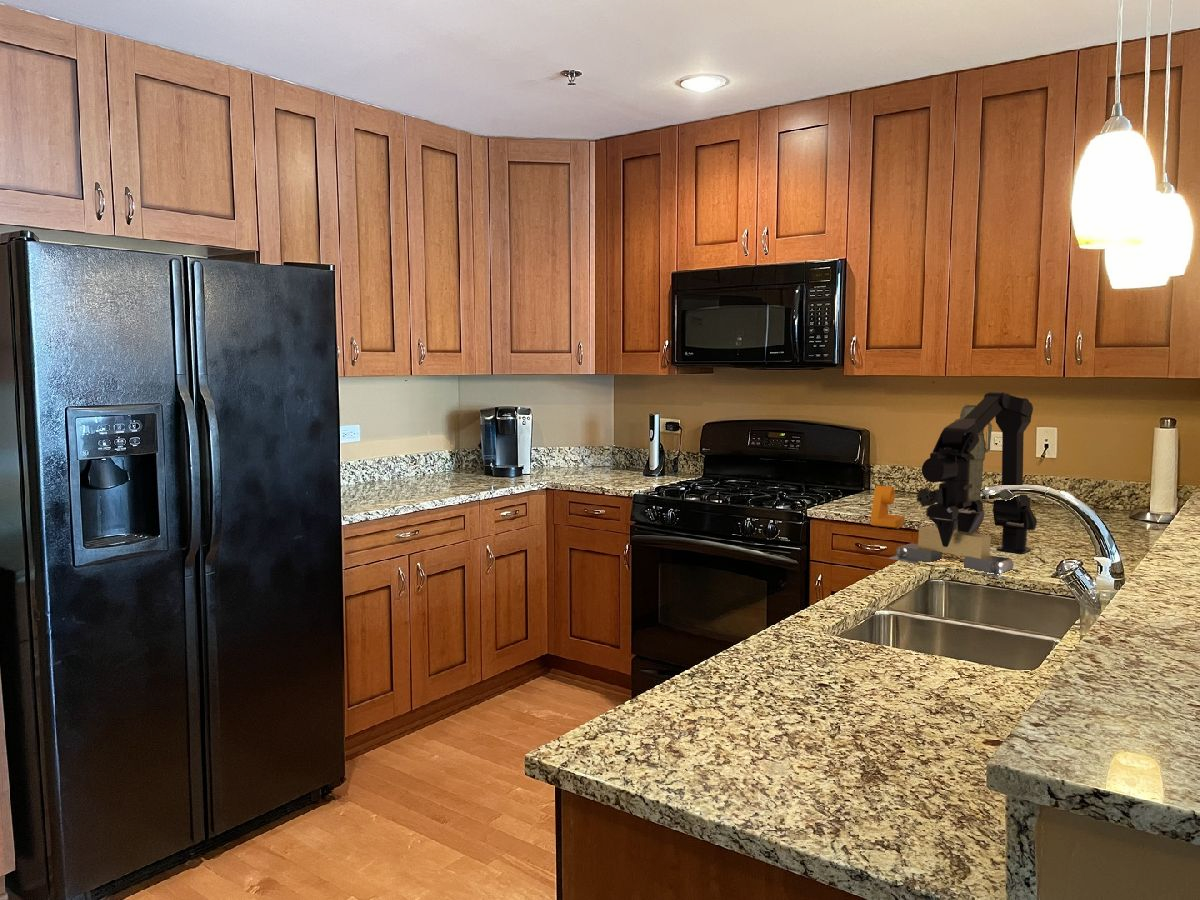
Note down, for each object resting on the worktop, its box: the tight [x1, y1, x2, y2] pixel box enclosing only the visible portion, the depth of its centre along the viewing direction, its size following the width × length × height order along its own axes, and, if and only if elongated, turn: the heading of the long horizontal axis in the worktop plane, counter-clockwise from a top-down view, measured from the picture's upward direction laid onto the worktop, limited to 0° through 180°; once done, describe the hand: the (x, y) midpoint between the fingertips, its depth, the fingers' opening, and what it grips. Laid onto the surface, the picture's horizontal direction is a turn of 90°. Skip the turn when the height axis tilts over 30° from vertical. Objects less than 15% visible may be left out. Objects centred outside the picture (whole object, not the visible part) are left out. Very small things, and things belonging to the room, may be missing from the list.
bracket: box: [870, 485, 905, 530], centre depth 264 cm, size 11×7×12 cm, turn 147°
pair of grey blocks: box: [888, 543, 1021, 579], centre depth 213 cm, size 10×28×3 cm, turn 45°
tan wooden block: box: [917, 525, 992, 559], centre depth 212 cm, size 4×16×5 cm, turn 39°
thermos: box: [954, 404, 993, 504], centre depth 292 cm, size 9×12×35 cm
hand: (953, 544), depth 212 cm, fingers open, 9 cm apart
